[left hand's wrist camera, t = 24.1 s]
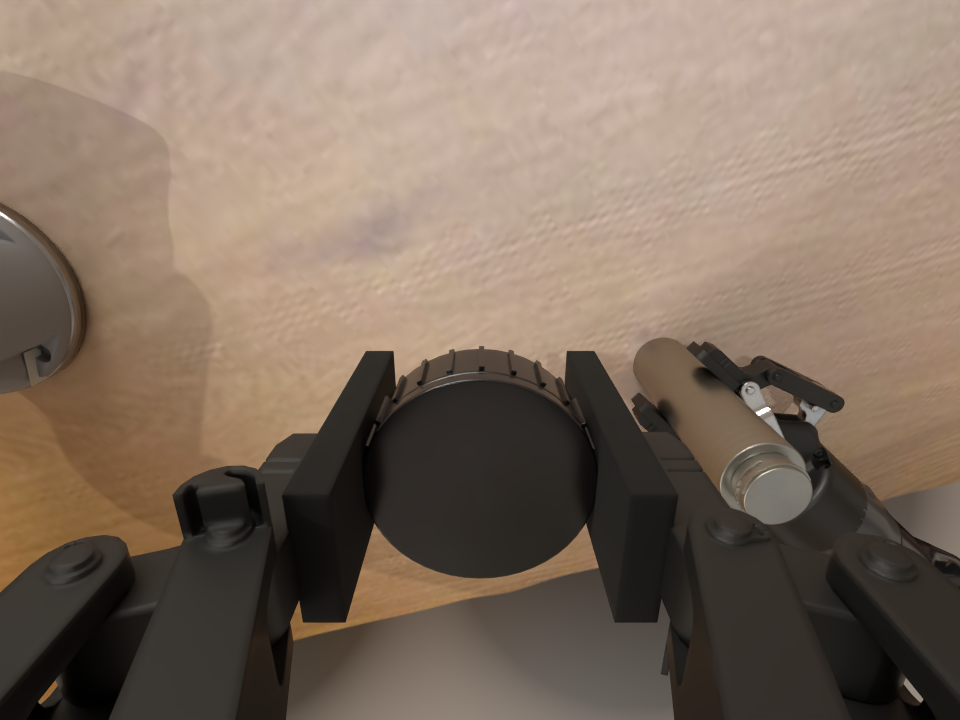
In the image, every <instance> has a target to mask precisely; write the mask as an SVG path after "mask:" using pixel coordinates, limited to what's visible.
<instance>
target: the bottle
mask: <svg viewBox="0 0 960 720" xmlns="http://www.w3.org/2000/svg"><path fill="white" fill-rule="evenodd" d="M633 369H634V374H635V376H636V378H637V379H638V381H639V382H640V384H641V385H642V386H643V388H644V389H645V391H646V392H647V393H648V395H649V396H650V398H651V399H652V400H653V402H654V403H655V405H656V406H657V407H658V409H659V410H660V412H661V413H662V414H663V416H664V417H665V419H666V420H667V421H668V423H669V424H670V426H671V427H672V428H673V430H674V431H675V433H676V434H677V435H678V437H679V438H680V440H681V441H682V442H683V443H684V444H685V445H686V446H687V448H688V449H689V450H690V452H691V453H692V455H693V456H694V457H695V460H697V462H698V463H699V464H700V466H701V467H702V469H703V472H705V473H706V474H707V476H708V477H709V478H710V480H711V481H712V483H713V484H714V485H715V487H716V488H717V490H718V491H719V492H720V494H721V495H722V497H723V498H724V499H725V501H726V502H727V504H728V505H729V506H730V507H731V508H733V509H737V510H741V511H743V512H745V513H747V514H749V515H751V516H753V517H756V518H757V519H758V520H760V521H761V522H762V523H764V524H769V525H774V524H781V523H784V522H787V521H790V520H792V519H794V518H795V517H797V516H798V515H800V514H801V513H802V512H803V511H804V510H805V509H806V508H807V506H808V505H809V503H810V501H811V498H812V494H813V488H812V483H811V479H810V477H809V475H808V473H807V472H806V465H805V462H804V459H803V458H802V456H801V455H800V453H799V452H798V451H797V450H796V449H795V448H794V447H792V446H791V445H790V444H789V443H788V442H787V441H786V440H785V439H784V438H783V437H782V436H781V435H779V434H778V433H777V432H776V431H775V430H774V429H773V428H772V427H771V426H770V425H769V424H768V423H766V422H765V421H764V420H763V419H762V418H761V417H760V416H759V415H758V414H757V413H756V412H754V411H753V410H752V409H751V408H750V407H749V406H748V405H747V404H746V403H745V402H744V401H743V400H741V399H740V398H739V397H738V396H737V395H736V394H735V393H734V392H733V391H732V390H731V389H730V388H728V387H727V386H726V385H725V384H724V383H723V382H722V381H721V380H719V379H718V378H717V377H716V376H715V375H714V374H713V373H712V372H711V371H710V370H709V369H708V368H707V367H705V366H704V365H703V364H702V363H701V362H700V361H699V360H698V359H697V358H696V357H695V356H694V355H693V354H692V353H691V352H689V351H688V350H687V349H686V348H685V347H684V346H683V345H682V344H681V343H679V342H678V341H676V340H674V339H670V338H658V339H655V340H652V341H650V342H648V343H646V344H645V345H644V346H643V347H642V348H641V349H640V350H639V351H638V353H637V354H636V357H635V359H634V364H633Z"/></svg>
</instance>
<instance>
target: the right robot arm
mask: <svg viewBox="0 0 960 720" xmlns="http://www.w3.org/2000/svg"><path fill="white" fill-rule="evenodd" d="M686 349H687V350H688V351H689V352H691V353H692V354H693V355H694V356H695V357H696V358H697V359H698V360H699V361H700V362H701V363H702V364H703V365H704V366H705V367H707V368H708V369H709V370H710V371H711V372H712V373H713V374H714V375H715V376H716V377H717V378H718V379H719V380H721V381H722V382H723V383H724V384H725V385H726V386H727V387H728V388H730V389H731V390H732V391H733V392H734V393H735V394H736V395H737V396H738V397H739V398H740V399H741V400H743V401H744V402H745V403H746V404H747V405H748V406H749V407H750V408H751V409H752V410H753V411H754V412H756V413H757V414H758V415H759V416H760V417H761V418H762V419H763V420H764V421H765V422H766V423H768V424H769V425H770V426H771V427H772V428H773V429H774V430H775V431H776V432H777V433H778V434H779V435H781V436H782V437H783V438H784V439H785V440H786V441H787V442H788V443H789V444H790V445H791V446H792V447H794V448H795V449H796V450H797V451H798V452H799V453H800V455H801V456H802V458H803V459H804V462H805V465H806V472H807V473H808V475H809V477H810V479H811V483H812V488H813V494H812V498H811V501H810V503H809V505H808V506H807V508H806V509H805V510H804V511H803V512H802V513H801V514H800V515H798V516H797V517H795V518H794V519H792V520H790V521H787V522H784V523H781V524H774V525H769V524H765V525H766V526H768V527H769V528H770V530H771V531H772V533H773V534H774V536H775V537H776V538H777V541H778V543H781V544H784V545H788V546H791V547H796V548H800V549H805V550H810V551H815V552H819V553H824V554H829V555H831V553H832V549H833V546H834V543H835V541H836V540H837V539H838V538H840V537H841V536H842V535H846V534H853V533H861V534H870V535H876V536H880V537H884V538H887V539H890V540H893V541H896V542H898V543H899V544H901V545H903V546H905V547H907V548H909V549H911V550H913V551H915V552H917V553H918V554H919V555H921V556H922V557H923V558H925V559H926V560H928V561H929V562H930V563H932V564H933V565H934V566H935V567H936V568H937V569H938V570H939V571H940V572H942V573H943V574H944V575H945V576H946V577H947V578H948V579H949V580H950V581H952V582H953V583H954V584H955V585H956V586H957V587H958V588H959V589H960V559H959V558H958V557H956V556H955V555H953V554H951V553H948V552H946V551H944V550H942V549H939V548H937V547H935V546H933V545H931V544H929V543H927V542H924V541H922V540H920V539H917V538H915V537H913V536H912V535H911V534H910V533H909V532H908V531H907V530H906V529H904V528H903V527H902V526H901V525H900V524H899V523H898V522H897V521H896V520H895V519H894V518H893V517H892V516H891V515H890V514H889V513H888V511H887V510H886V508H885V507H884V505H883V504H882V503H881V501H880V500H879V499H878V498H877V497H876V496H875V495H874V493H873V492H872V490H871V489H870V488H869V487H868V486H867V485H865V484H864V483H862V482H861V481H860V480H859V479H858V478H857V477H855V476H854V475H853V474H852V473H851V472H850V471H849V470H848V469H847V468H846V467H845V466H844V465H843V464H842V463H841V462H840V461H839V460H838V459H837V458H836V457H835V456H834V455H833V454H831V453H830V452H829V451H828V450H827V449H826V448H825V447H824V446H823V445H822V444H821V443H820V441H819V438H818V432H817V429H816V428H815V425H816V424H817V423H818V422H819V420H820V419H821V418H822V417H823V415H824V414H825V413H826V412H827V411H829V412H831V413H835V412H838V411H840V410H841V409H842V408H843V406H844V400H843V398H841V397H840V396H838V395H837V394H835V393H834V392H832V391H831V390H829V389H828V388H826V387H825V386H823V385H822V384H820V383H818V382H816V381H814V380H812V379H810V378H808V377H806V376H804V375H802V374H800V373H798V372H796V371H793V370H791V369H789V368H787V367H785V366H783V365H781V364H779V363H777V362H775V361H773V360H771V359H768V358H766V357H764V356H757V357H755V358H754V359H753V360H752V362H751V364H750V365H748V366H746V367H737V366H736V365H735V364H734V363H733V362H732V361H731V360H730V359H729V358H728V357H727V356H726V355H725V354H724V353H723V352H722V351H720V350H719V349H718V348H717V347H715V346H714V345H713V344H711V343H708V342H704V343H703V344H702V345H701V346H699V345H698V344H696V343H695V342H694V341H693V342H692V343H691V344H690V345H689V346H688V347H687V348H686ZM769 385H773V386H776V387H778V388H780V389H782V390H784V391H786V392H788V393H790V394H792V395H793V397H794V398H793V402H794V404H795V405H797V406H798V408H799V413H798V415H793V414H781V413H773V412H772V410H771V409H770V408H769V407H768V405H767V403H766V401H765V399H764V397H763V394H762V392H761V390H760V389H762V388H764V387H766V386H769ZM631 400H632V401H633V403H634V405H635V407H634V408H633V409H632V411H633V413H634V415H635V417H636V418H637V420H638V422H639V423H640V425H641V426H642V427H644V428H645V429H646V430H647V431H648V432H668V433H669V434H671V435H672V436H674V437H675V438H677V439H678V440H680V438H679V437H678V435H677V434H676V433H675V431H674V430H673V428H672V427H671V426H670V424H669V423H668V421H667V420H666V419H665V417H664V416H663V414H662V413H661V412H660V410H658V409H657V408H656V407H655V406H654V405H653V404H652V403H650V402H649V401H648V400H647V399H646V398H645V397H643V396H642V395H641V394H640V393H638V394H637V395H635V396H634V397H633V398H632V399H631ZM680 441H681V440H680ZM681 442H682V441H681Z"/></svg>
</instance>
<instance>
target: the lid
mask: <svg viewBox="0 0 960 720" xmlns="http://www.w3.org/2000/svg"><path fill="white" fill-rule="evenodd" d="M587 426H588V425H587V423H586V420H585V418H584V415H583V413H582V410H581V408H580V405H579V403H578V400H577V399H576V398H574V399H572V397H571V396H570V394H569V393H568V391H567V390H566V388H565V386H564V383H563V380H562V379H561V378H560V377H558V378H557V379H556V378H555V377H554V376H553V375H552V374H551V373H550V372H548V371H547V370H546V369H544V368H542V366H541V363H540V362H539V361H537V360H536V362H535V363H534V362H532V361H530V360H528V359H526V358H524V357H521V356H518V355H515V354H514V351H512V350H509V351H508V352H503V351H498V350H488V349H484V346H479V349H473V350H463V351H457V352H455V350H454V349H452V350H449V354H445V355H442V356H439V357H437V358H435V359H432V360H430V361H427V359H425V360H423V361H422V364H421V366H419V367H418V368H416V369H415V370H413V371H412V372H411V373H410V374H408V375H407V376H406V377H405V376H404V375H402V376H401V377H400V379H399V381H398V384H397V386H396V387H395V389H394V390H393V392H392V393H391V395H390V396H389V397H388V396H385V397H384V399H383V402H382V404H381V407H380V409H379V412H378V414H377V417H376V419H375V422H374V425H373V427H372V430H371V432H370V435H369V437H368V440H367V443H366V445H365V447H366V450H367V452H366V455H365V458H364V464H363V472H362V473H363V486H364V495H365V501H366V505H367V508H368V511H369V513H370V515H371V517H372V519H373V521H374V523H375V525H376V526H377V527H378V529H379V530H380V532H381V533H382V535H383V536H384V537H385V538H386V539H387V540H388V541H389V542H390V544H392V545H393V546H394V547H395V548H396V549H397V550H398V551H400V552H401V553H402V554H404V555H405V556H407V557H408V558H410V559H411V560H413V561H415V562H417V563H418V564H420V565H422V566H424V567H427V568H429V569H432V570H434V571H437V572H440V573H444V574H448V575H452V576H458V577H464V578H495V577H502V576H508V575H512V574H516V573H520V572H523V571H526V570H529V569H531V568H534V567H536V566H538V565H540V564H542V563H544V562H546V561H548V560H549V559H551V558H552V557H554V556H555V555H557V554H558V553H559V552H561V551H562V550H563V549H564V548H565V547H567V546H568V545H569V544H570V543H571V542H572V540H573V539H574V538H575V537H576V536H577V535H578V534H579V532H580V531H581V529H582V528H583V527H584V525H585V523H586V521H587V520H588V518H589V516H590V514H591V511H592V508H593V506H594V503H595V498H596V489H597V478H598V469H597V461H596V458H595V454H594V451H595V447H594V445H593V442H592V440H591V437H590V435H589V432H588V430H587Z"/></svg>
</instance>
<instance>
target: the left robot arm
mask: <svg viewBox="0 0 960 720" xmlns="http://www.w3.org/2000/svg"><path fill="white" fill-rule="evenodd" d="M85 320H86V317H85V307H84V301H83V297H82V293H81V290H80V287H79V285H78V282H77V280H76V277H75V275H74V273H73V271H72V269H71V268H70V266H69V264H68V263H67V261H66V260H65V258H64V257H63V255H62V254H61V252H60V251H59V250H58V249H57V247H56V246H55V245H54V244H53V243H52V242H51V241H50V239H49V238H48V237H47V236H46V235H45V234H44V233H43V232H42V231H40V230H39V229H38V228H37V227H36V226H35V225H34V224H32V223H31V222H30V221H28V220H27V219H26V218H24V217H23V216H21V215H20V214H19V213H17V212H15V211H14V210H12V209H10V208H8V207H7V206H5V205H3V204H1V203H0V394H4V393H9V392H14V391H18V390H21V389H25V388H28V387H32V386H34V385H36V384H38V383H40V382H42V381H44V380H46V379H48V378H50V377H52V376H54V375H55V374H57V373H59V372H60V371H61V370H63V369H64V368H65V367H66V366H67V365H68V364H69V363H70V362H71V361H72V360H73V358H74V357H75V355H76V354H77V352H78V350H79V348H80V346H81V344H82V340H83V337H84V332H85ZM395 387H396V383H395V368H394V352H393V351H366V352H365V354H364V356H363V357H362V359H361V361H360V362H359V364H358V366H357V368H356V369H355V371H354V373H353V374H352V376H351V378H350V380H349V381H348V383H347V385H346V386H345V388H344V390H343V391H342V393H341V395H340V397H339V398H338V400H337V402H336V403H335V405H334V407H333V408H332V410H331V412H330V414H329V415H328V417H327V419H326V420H325V422H324V424H323V425H322V427H321V429H320V431H319V432H318V434H292V435H291V436H289V437H288V438H286V439H285V440H283V441H282V442H280V443H279V444H277V445H276V446H275V447H274V449H273V450H272V452H271V453H270V454H269V456H268V457H267V459H266V462H264V463H263V464H262V466H261V467H260V468H259V470H257V469H256V468H251V467H247V466H226V467H221V468H216V469H212V470H209V471H206V472H204V473H201V474H199V475H196V476H194V477H193V478H191V479H190V480H188V481H186V482H185V483H183V484H182V485H181V486H180V487H179V488H178V489H177V490H176V492H175V493H174V494H173V499H174V503H175V507H176V511H177V515H178V518H179V522H180V526H181V530H182V534H183V538H184V539H183V542H182V544H181V545H180V546H177V547H173V548H170V549H165V550H161V551H156V552H151V553H147V554H142V555H137V556H133V557H130V555H129V551H128V548H127V545H126V543H125V542H124V541H122V540H121V539H120V538H119V537H114V536H107V535H101V536H93V537H86V538H82V539H78V540H76V541H72V542H69V543H66V544H64V545H62V546H60V547H58V548H56V549H54V550H52V551H50V552H48V553H46V554H45V555H44V556H42V557H41V558H40V559H38V560H37V561H35V562H34V563H33V564H31V565H30V566H29V567H28V568H27V569H26V570H25V571H23V572H22V573H21V574H20V575H19V576H18V577H17V578H16V579H15V580H14V581H12V582H11V583H10V584H9V585H8V586H7V587H6V588H5V589H4V590H3V591H2V592H0V720H286V711H287V701H288V691H289V681H290V671H291V661H292V651H293V637H292V631H291V625H290V621H291V619H292V616H293V614H294V611H295V609H296V606H297V604H298V601H300V607H301V613H302V619H303V622H346V619H347V615H348V612H349V609H350V605H351V602H352V598H353V595H354V591H355V588H356V584H357V581H358V577H359V574H360V571H361V567H362V564H363V560H364V557H365V553H366V550H367V546H368V543H369V539H370V536H371V532H372V529H373V526H374V521H373V519H372V517H371V515H370V513H369V511H368V508H367V505H366V501H365V495H364V486H363V473H362V472H363V464H364V458H365V455H366V452H367V450H366V447H365V445H366V443H367V440H368V437H369V435H370V432H371V430H372V427H373V425H374V422H375V419H376V417H377V414H378V412H379V409H380V407H381V404H382V402H383V399H384V397H385V396H388V397H389V396H390V395H391V393H392V392H393V390H394V389H395ZM565 388H566V390H567V391H568V393H569V394H570V396H571V397H572V399H574V398H576V399H577V400H578V403H579V405H580V408H581V410H582V413H583V415H584V418H585V420H586V423H587V425H588V426H587V430H588V432H589V435H590V437H591V440H592V442H593V445H594V447H595V451H594V454H595V458H596V461H597V469H598V478H597V489H596V498H595V503H594V506H593V508H592V511H591V514H590V516H589V518H588V520H587V521H586V524H587V528H588V531H589V535H590V538H591V542H592V545H593V549H594V552H595V556H596V559H597V563H598V566H599V569H600V573H601V576H602V580H603V583H604V587H605V590H606V594H607V597H608V601H609V604H610V607H611V611H612V614H613V618H614V621H615V622H657V621H658V615H659V609H660V603H661V598H662V600H663V603H664V605H665V608H666V610H667V613H668V615H669V618H670V625H669V631H668V636H667V642H666V647H665V653H664V658H663V664H662V671H661V674H662V675H668V671H669V670H670V680H671V690H672V700H673V710H674V720H960V589H959V588H958V587H957V586H956V585H955V584H954V583H953V582H952V581H950V580H949V579H948V578H947V577H946V576H945V575H944V574H943V573H942V572H940V571H939V570H938V569H937V568H936V567H935V566H934V565H933V564H932V563H930V562H929V561H928V560H926V559H925V558H923V557H922V556H921V555H919V554H918V553H917V552H915V551H913V550H911V549H909V548H907V547H905V546H903V545H901V544H899V543H898V542H896V541H893V540H890V539H887V538H884V537H880V536H876V535H870V534H861V533H853V534H846V535H842V536H841V537H840V538H838V539H837V540H836V541H835V543H834V546H833V549H832V553H831V555H829V554H824V553H819V552H815V551H810V550H805V549H800V548H796V547H791V546H788V545H784V544H781V543H778V541H777V538H776V537H775V536H774V534H773V533H772V531H771V530H770V528H769V527H768V526H766V525H765V524H764V523H762V522H761V521H760V520H758V519H757V518H756V517H753V516H751V515H749V514H747V513H745V512H743V511H741V510H737V509H733V508H730V506H729V505H728V504H727V502H726V501H725V499H724V498H723V497H722V495H721V494H720V492H719V491H718V490H717V488H716V487H715V485H714V484H713V483H712V481H711V480H710V478H709V477H708V476H707V474H706V473H705V472H703V469H702V467H701V466H700V464H699V463H698V462H697V460H695V457H694V456H693V455H692V453H691V452H690V450H689V449H688V448H687V446H686V445H685V444H684V443H683V442H681V441H680V440H678V439H677V438H675V437H674V436H672V435H671V434H669V433H668V432H641V430H640V428H639V427H638V425H637V423H636V422H635V420H634V418H633V416H632V415H631V413H630V411H629V410H628V408H627V406H626V404H625V403H624V401H623V399H622V398H621V396H620V394H619V393H618V391H617V389H616V387H615V386H614V384H613V382H612V381H611V379H610V377H609V376H608V374H607V372H606V370H605V369H604V367H603V365H602V364H601V362H600V360H599V359H598V357H597V355H596V353H595V352H594V351H567V357H566V372H565ZM906 678H907V679H908V680H909V682H910V683H911V684H912V685H913V687H914V688H915V689H916V690H917V692H918V693H919V694H920V695H921V696H922V698H923V701H922V702H921V703H920V702H919V701H918V700H917V699H916V698H915V697H914V696H913V695H912V694H911V693H910V692H909V690H908V689H907V688H906V687H905V685H904V684H903V683H904V681H905V679H906ZM55 680H56V682H57V685H58V686H57V688H56V689H55V690H54V691H53V693H52V694H51V695H50V696H49V697H48V698H47V699H46V700H45V701H44V702H43V703H42V704H41V705H40V704H39V703H38V701H39V700H40V698H41V697H42V696H43V695H44V693H45V692H46V691H47V690H48V688H49V687H50V686H51V685H52V683H53V682H54V681H55Z"/></svg>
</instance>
